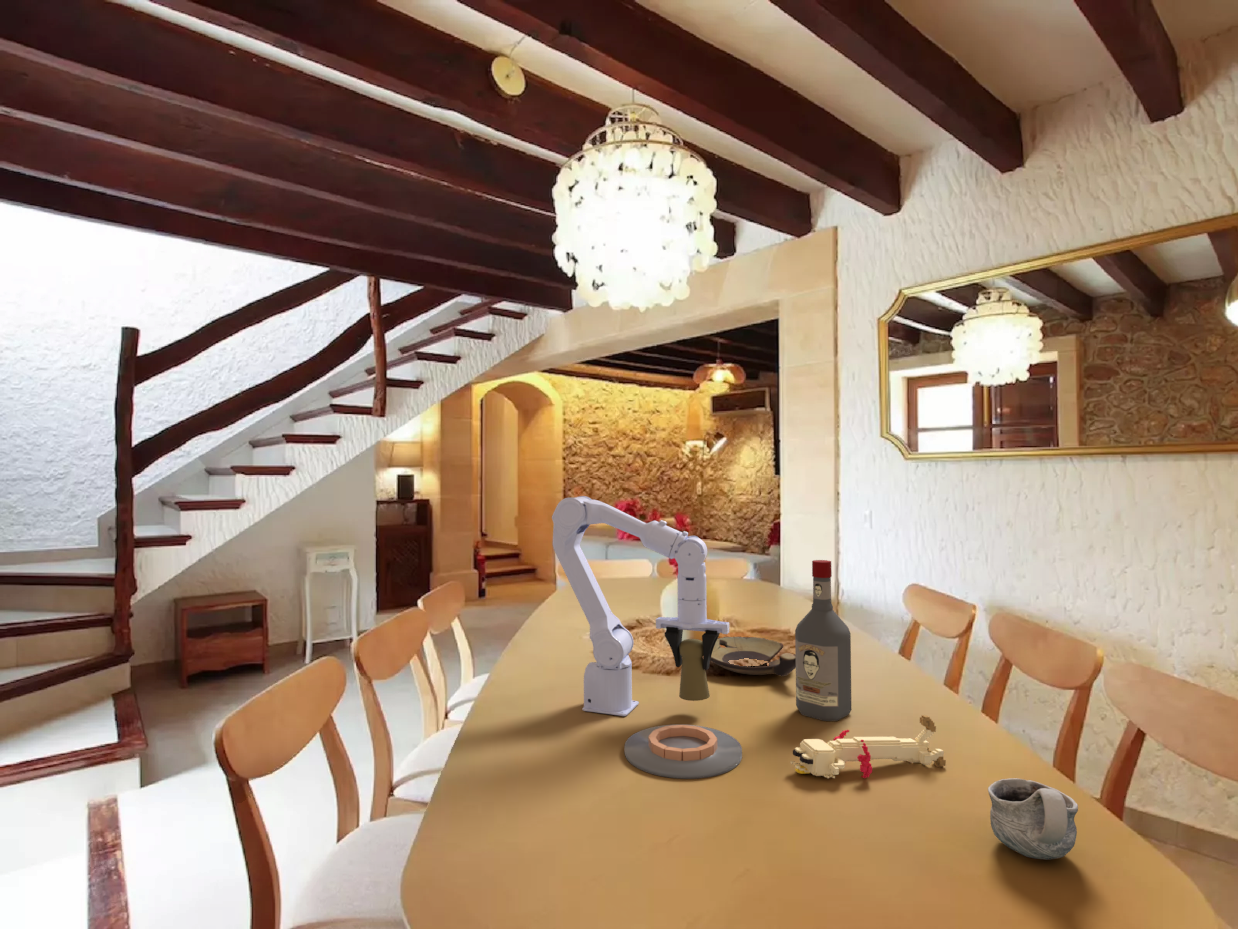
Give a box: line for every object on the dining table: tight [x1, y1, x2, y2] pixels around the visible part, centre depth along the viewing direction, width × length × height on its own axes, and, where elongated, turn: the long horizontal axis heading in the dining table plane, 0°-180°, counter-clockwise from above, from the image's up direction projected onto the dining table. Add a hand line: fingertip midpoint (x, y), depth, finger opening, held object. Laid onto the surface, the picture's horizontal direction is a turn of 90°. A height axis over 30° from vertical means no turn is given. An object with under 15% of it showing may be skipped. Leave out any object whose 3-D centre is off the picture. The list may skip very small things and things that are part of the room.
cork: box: [678, 638, 711, 702], centre depth 133 cm, size 6×6×11 cm
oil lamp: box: [710, 636, 796, 677], centre depth 161 cm, size 22×30×8 cm
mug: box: [987, 777, 1079, 861], centre depth 83 cm, size 10×12×10 cm
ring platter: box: [624, 724, 743, 780], centre depth 115 cm, size 20×20×2 cm
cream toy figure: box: [790, 714, 947, 779], centre depth 109 cm, size 10×9×25 cm
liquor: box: [794, 559, 853, 722], centre depth 134 cm, size 9×9×30 cm
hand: (692, 667), depth 133 cm, fingers closed on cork, 5 cm apart
